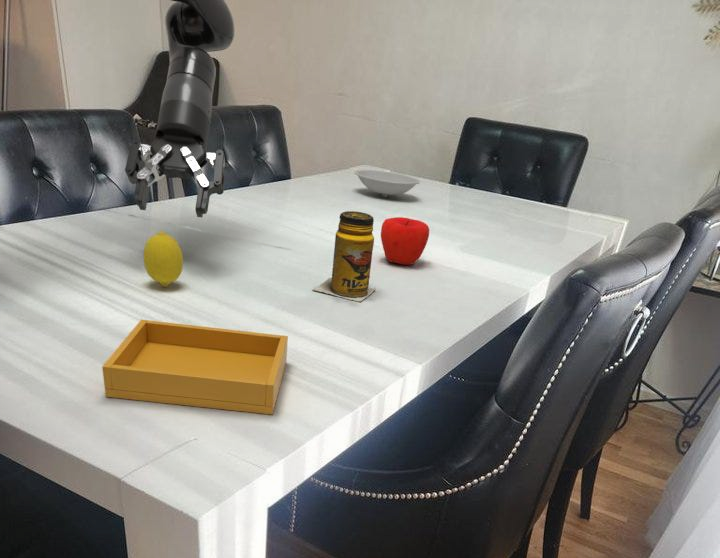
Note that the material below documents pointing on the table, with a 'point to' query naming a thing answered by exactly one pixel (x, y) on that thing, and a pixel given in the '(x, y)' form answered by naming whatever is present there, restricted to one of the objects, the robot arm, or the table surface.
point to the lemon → (163, 259)
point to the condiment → (351, 258)
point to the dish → (386, 182)
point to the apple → (404, 239)
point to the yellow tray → (198, 367)
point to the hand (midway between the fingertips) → (170, 210)
